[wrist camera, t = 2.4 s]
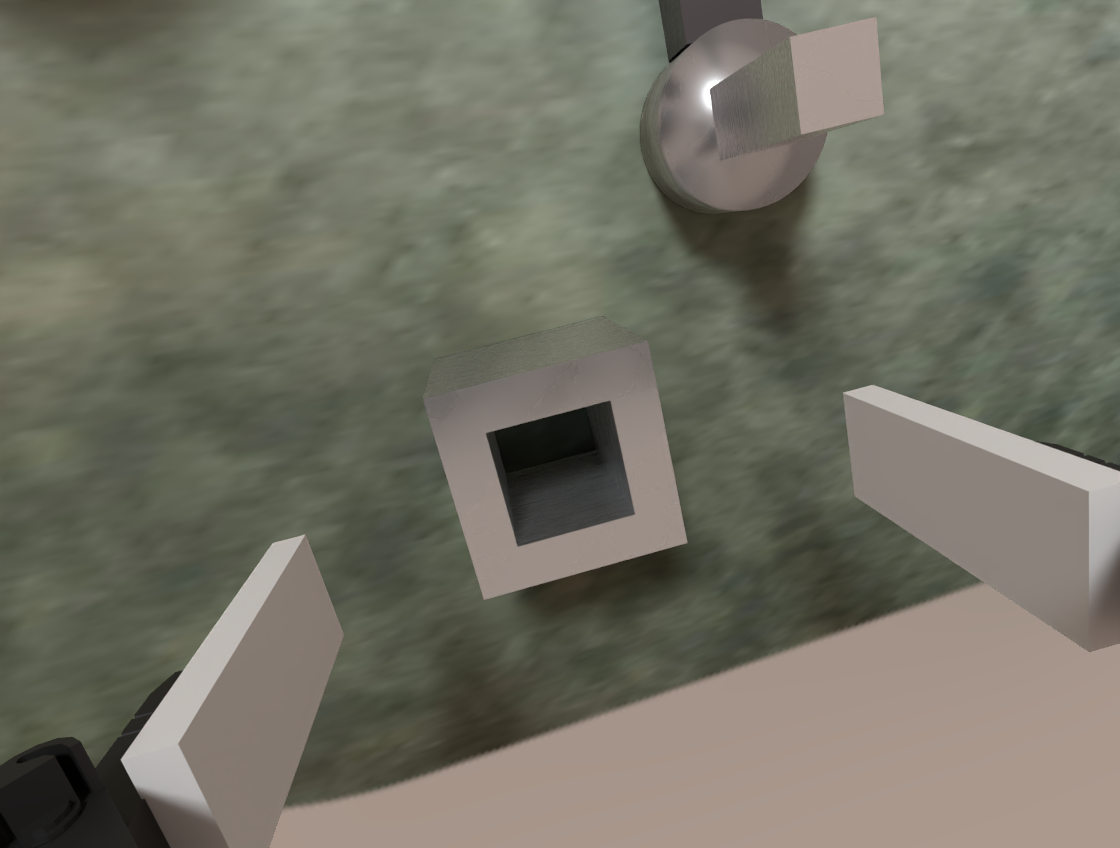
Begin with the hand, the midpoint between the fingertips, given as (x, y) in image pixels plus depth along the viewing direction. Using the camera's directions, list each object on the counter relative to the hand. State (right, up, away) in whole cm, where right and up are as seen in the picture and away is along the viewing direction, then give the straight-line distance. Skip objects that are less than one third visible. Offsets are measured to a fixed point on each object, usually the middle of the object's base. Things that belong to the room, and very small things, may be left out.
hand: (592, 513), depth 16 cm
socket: (-2, +2, +8) cm, 8 cm away
